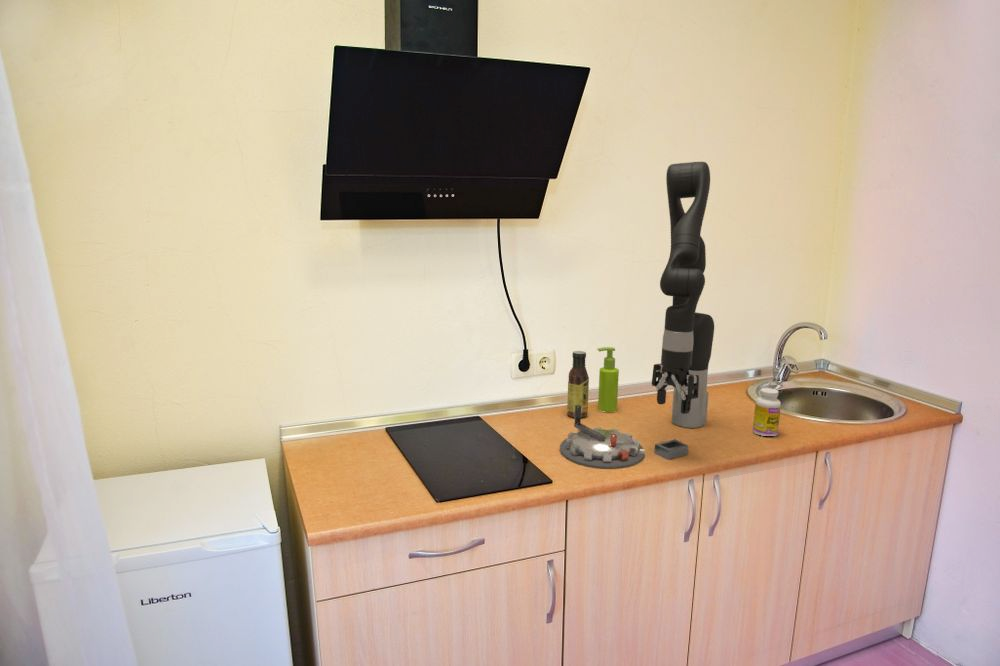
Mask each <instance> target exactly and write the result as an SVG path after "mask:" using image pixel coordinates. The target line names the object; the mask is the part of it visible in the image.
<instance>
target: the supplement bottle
mask: <svg viewBox="0 0 1000 666" xmlns="http://www.w3.org/2000/svg"><path fill="white" fill-rule="evenodd" d="M759 394H760V396H759V397H757V398H756V399H755V406H754V412H753V413H754V414H753V416H754V417H753V425H752V432H753V433H754V434H755V435H757V434H758V435H757V436H759V435H761V436H760V437H763V436H774V437H777V436H778V434H779V425H780V418H781V417H780V415H781V410H782V409H781V408H782V407H781V406H782V403H781V401H780V399H778V396H779V390H777V389H775V388H770V387H762V388H761V389H760V392H759Z"/></svg>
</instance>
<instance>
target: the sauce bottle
mask: <svg viewBox="0 0 1000 666" xmlns="http://www.w3.org/2000/svg"><path fill="white" fill-rule="evenodd" d="M571 355H572V367H571V369H570V370H569V372H568V382H567V405H566V406H567V415H568V416H569V417H571V418H573V417H574V419H575V406H576V405H580V406H581V419H582V417H583V418H585V417H587V416H588V410H589V387H590V386H589V384H590V382H589V381H590V377H589V374H588V371H587V368H586V358H587V352H586V351H582V350H574V351H572V354H571Z"/></svg>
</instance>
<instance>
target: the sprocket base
mask: <svg viewBox="0 0 1000 666" xmlns="http://www.w3.org/2000/svg"><path fill="white" fill-rule="evenodd" d="M645 450H646V449H644V448H643V445H642V444H640V443H639V447H638V454H637V455H636V456H632V455H629V457H628V460H624V461H621V460H620V459H612V460H611V462H603V460H602V459H593V460H592V461H591V460H587V459H584V456H582V455H580V454H579V455H573V454H572V453H571V449H569V448H566V438H565V439H564V440H562V441H561V443H560V445H559V451H560V454H561V456H562V457H564V458H565V459H566V460H568V461H570V462H572V463H573V464H574V463H575V464H577V465H580V466H584V467H588V468H593V469H608V470H610V469H611V470H614V469H615V470H616V469H623V468H629V467H633V466H635V465H637V464H639V463H641V462H642V461H643V460H644V458H645V452H646V451H645Z"/></svg>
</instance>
